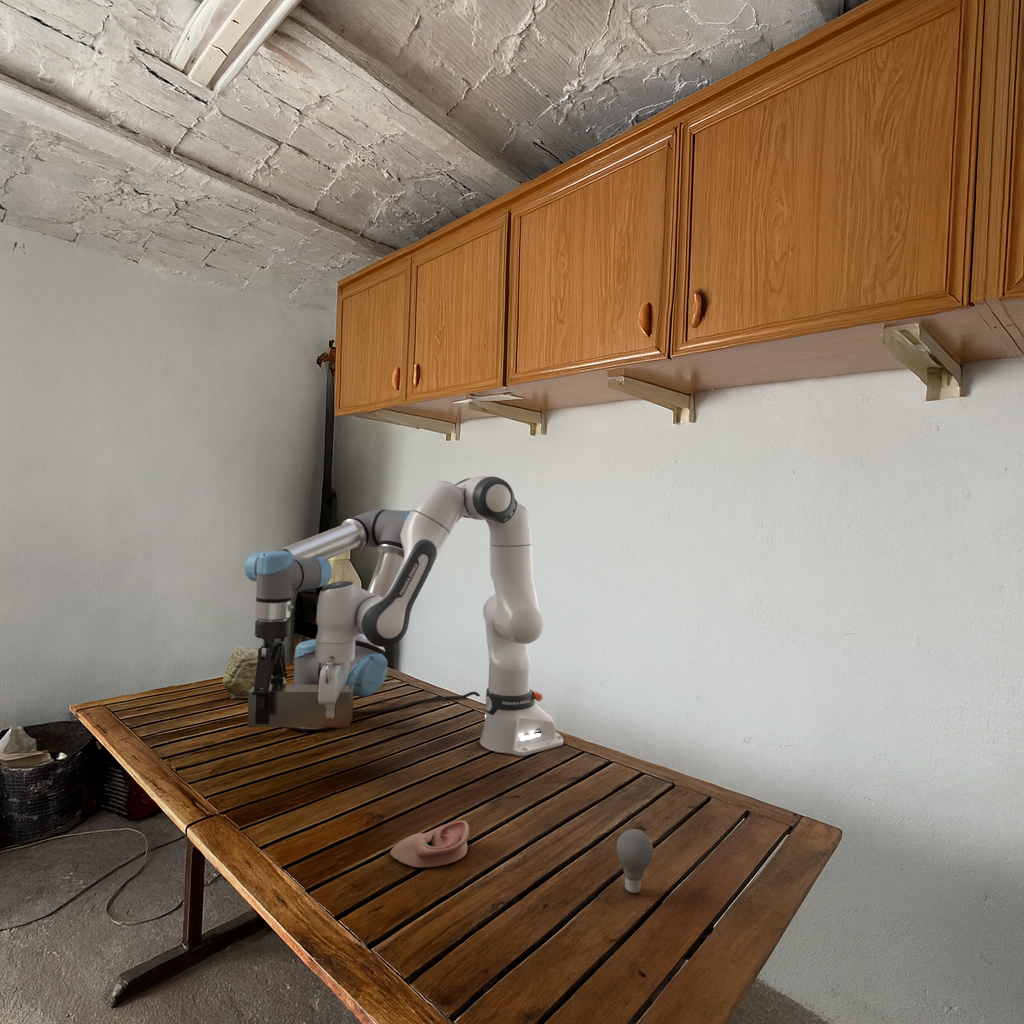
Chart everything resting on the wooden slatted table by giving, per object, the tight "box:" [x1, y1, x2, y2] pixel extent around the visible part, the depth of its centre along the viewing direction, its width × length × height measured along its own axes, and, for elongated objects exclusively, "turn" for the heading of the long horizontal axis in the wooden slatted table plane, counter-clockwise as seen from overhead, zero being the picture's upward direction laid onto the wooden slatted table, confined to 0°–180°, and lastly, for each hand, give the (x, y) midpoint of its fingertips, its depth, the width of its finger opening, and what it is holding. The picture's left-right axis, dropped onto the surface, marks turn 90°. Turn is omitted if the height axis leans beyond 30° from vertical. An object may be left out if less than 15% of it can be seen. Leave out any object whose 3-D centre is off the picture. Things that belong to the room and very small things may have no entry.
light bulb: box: [615, 828, 654, 894], centre depth 106 cm, size 6×6×10 cm
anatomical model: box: [389, 819, 470, 869], centre depth 115 cm, size 13×4×12 cm
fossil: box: [222, 646, 287, 699], centre depth 198 cm, size 9×18×15 cm, turn 132°
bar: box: [246, 683, 354, 728], centre depth 146 cm, size 22×6×8 cm, turn 96°
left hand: (269, 714), depth 145 cm, fingers open, 11 cm apart
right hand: (333, 711), depth 147 cm, fingers closed on bar, 5 cm apart
